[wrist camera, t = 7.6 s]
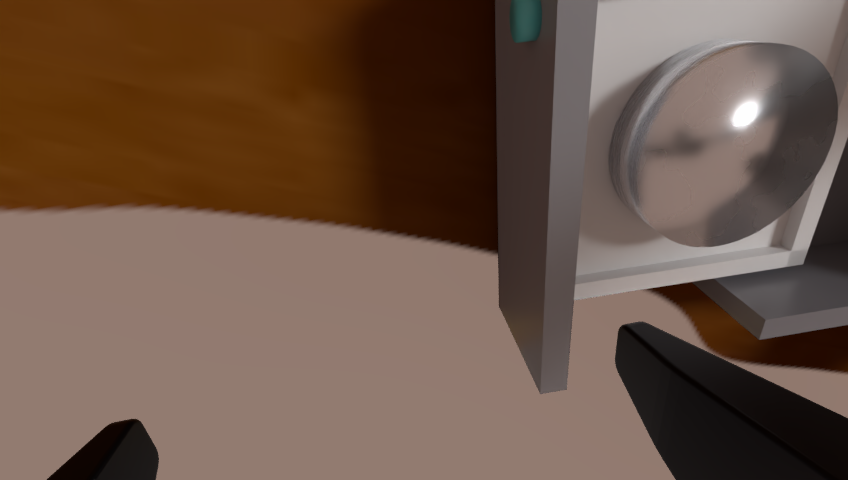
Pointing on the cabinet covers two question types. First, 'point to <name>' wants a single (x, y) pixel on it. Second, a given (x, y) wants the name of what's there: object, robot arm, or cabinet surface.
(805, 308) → the housing
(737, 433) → the robot arm
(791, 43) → the tray
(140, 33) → the cabinet surface
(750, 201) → the disc
